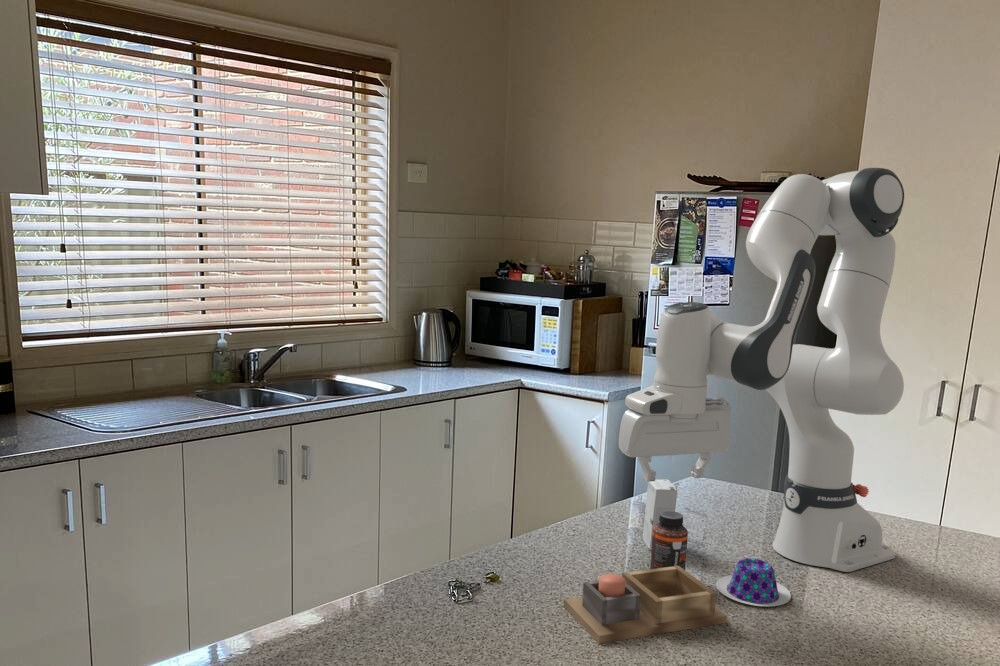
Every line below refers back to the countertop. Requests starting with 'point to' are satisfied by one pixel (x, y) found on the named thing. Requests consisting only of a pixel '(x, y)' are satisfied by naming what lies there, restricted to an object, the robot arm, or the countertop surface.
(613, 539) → the countertop surface
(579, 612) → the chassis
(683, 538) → the supplement bottle
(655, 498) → the skincare box
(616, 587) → the button
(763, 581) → the pudding
